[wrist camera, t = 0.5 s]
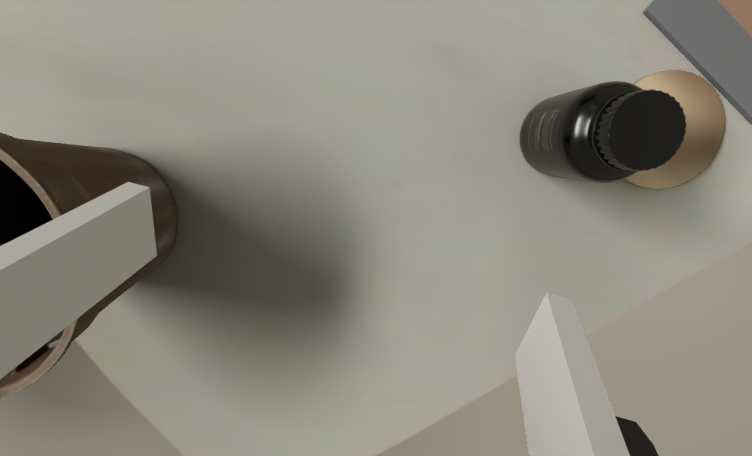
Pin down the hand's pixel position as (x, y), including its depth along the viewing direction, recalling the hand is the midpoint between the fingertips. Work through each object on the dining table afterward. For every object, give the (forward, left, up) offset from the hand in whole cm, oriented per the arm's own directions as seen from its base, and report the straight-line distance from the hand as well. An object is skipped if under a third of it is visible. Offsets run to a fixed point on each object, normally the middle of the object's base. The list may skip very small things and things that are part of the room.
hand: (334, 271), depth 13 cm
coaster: (-10, +25, -24) cm, 36 cm away
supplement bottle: (-8, +16, -24) cm, 30 cm away
